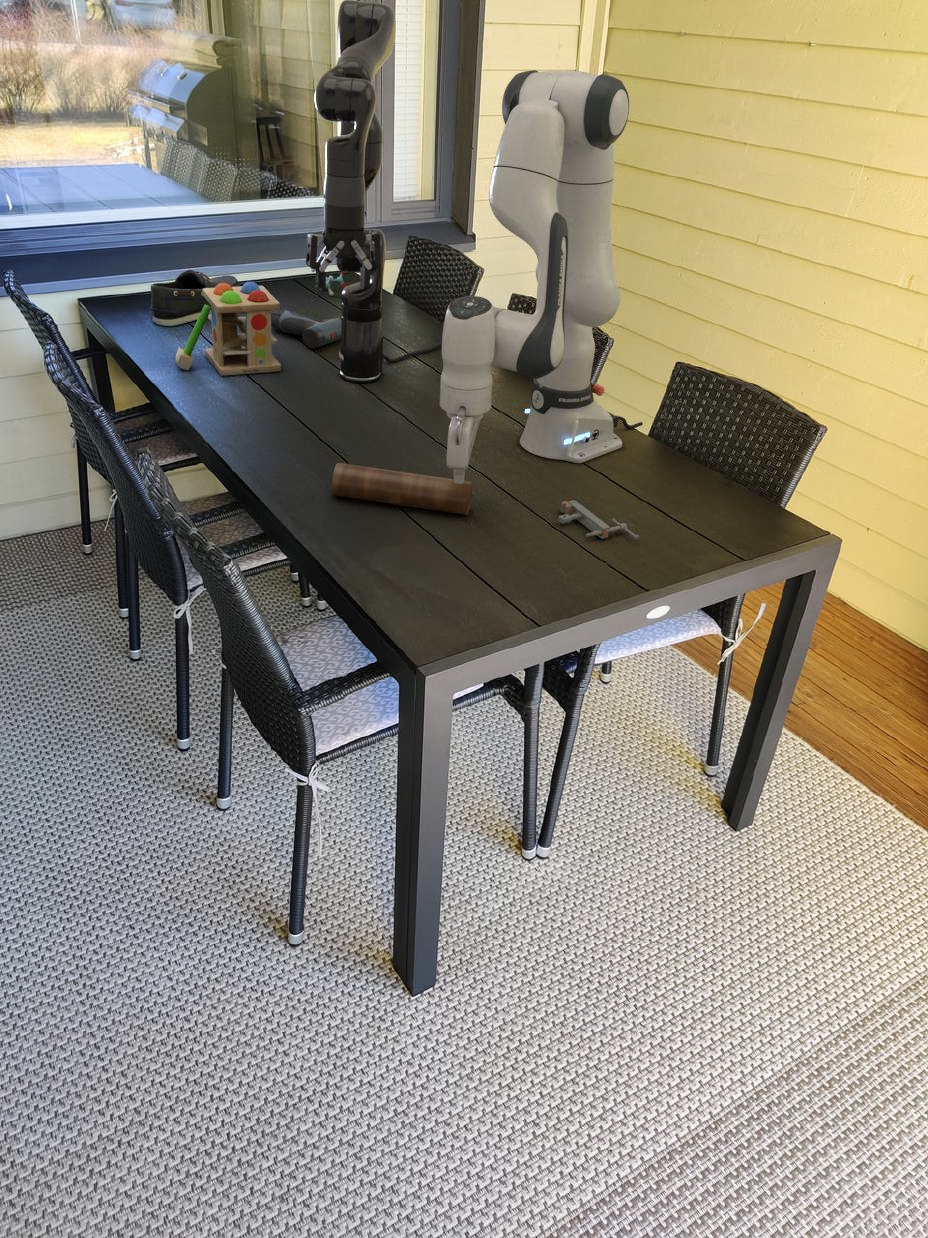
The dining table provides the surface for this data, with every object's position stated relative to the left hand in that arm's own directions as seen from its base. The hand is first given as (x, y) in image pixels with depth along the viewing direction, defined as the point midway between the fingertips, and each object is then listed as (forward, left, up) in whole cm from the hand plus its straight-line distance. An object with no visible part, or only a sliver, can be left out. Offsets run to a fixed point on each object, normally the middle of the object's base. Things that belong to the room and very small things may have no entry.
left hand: (343, 289), depth 189 cm
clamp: (+3, +61, -29) cm, 67 cm away
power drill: (-42, -44, -29) cm, 67 cm away
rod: (+18, +29, -29) cm, 45 cm away
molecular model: (-74, -64, -29) cm, 102 cm away
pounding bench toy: (-10, -43, -29) cm, 53 cm away
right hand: (+14, +39, -21) cm, 46 cm away
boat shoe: (-34, -76, -29) cm, 88 cm away
